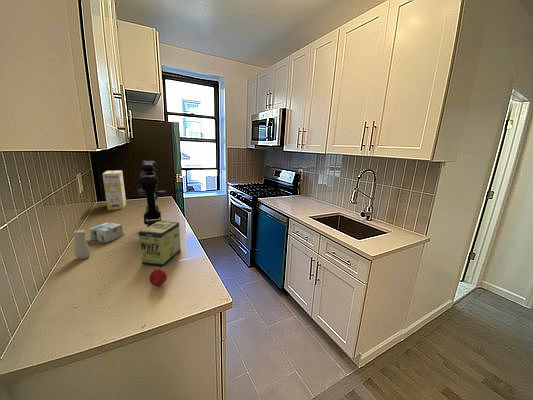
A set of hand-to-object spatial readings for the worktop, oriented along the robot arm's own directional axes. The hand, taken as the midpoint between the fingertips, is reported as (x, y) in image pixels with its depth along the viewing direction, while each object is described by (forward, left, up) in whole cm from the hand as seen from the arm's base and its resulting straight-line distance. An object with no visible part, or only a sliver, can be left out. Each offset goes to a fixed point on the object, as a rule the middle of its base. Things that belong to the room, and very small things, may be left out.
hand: (152, 206), depth 141 cm
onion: (-45, +53, -13) cm, 71 cm away
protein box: (-32, +34, -13) cm, 48 cm away
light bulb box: (+5, +24, -10) cm, 26 cm away
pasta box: (+57, -27, -13) cm, 64 cm away
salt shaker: (+2, +44, -13) cm, 46 cm away
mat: (+12, +24, -13) cm, 30 cm away
